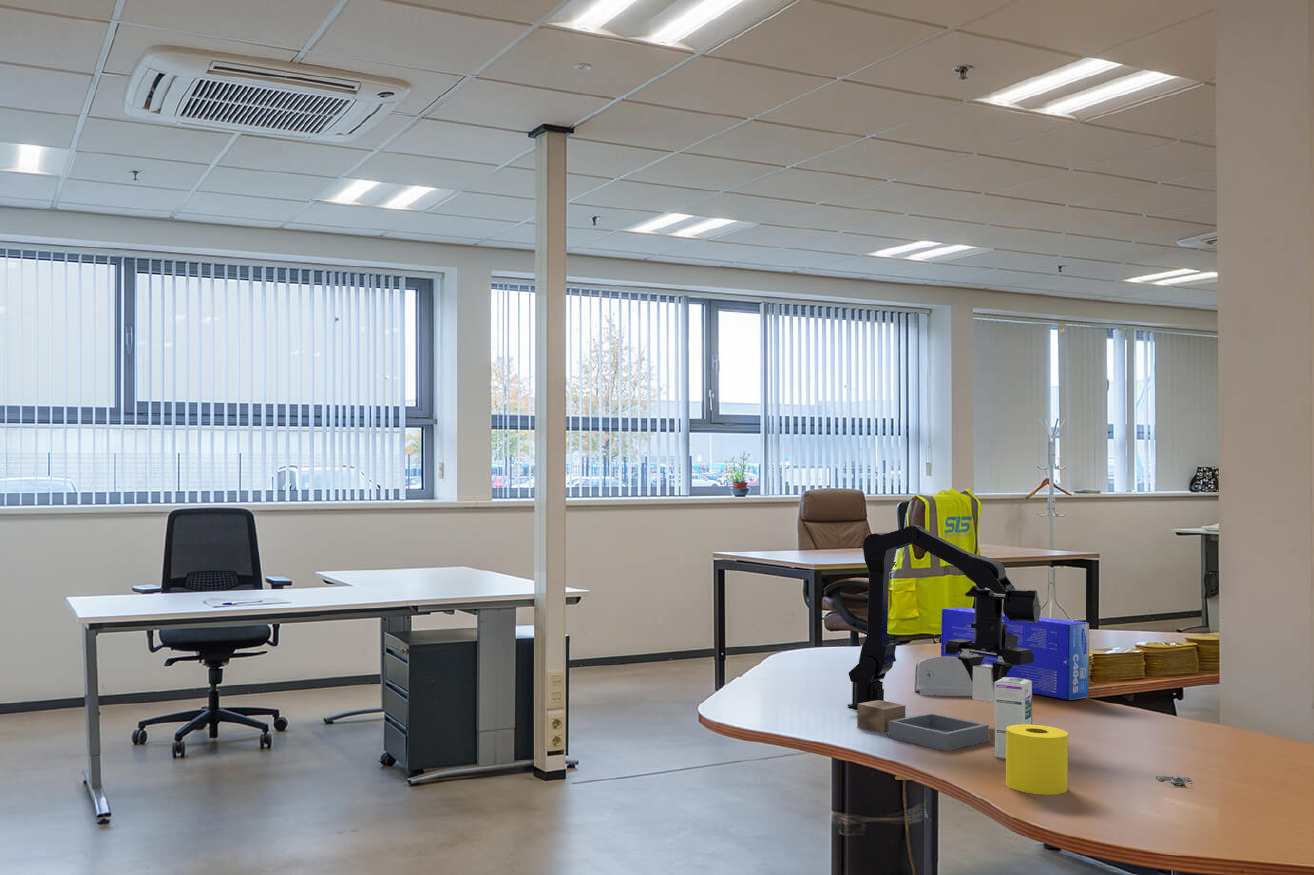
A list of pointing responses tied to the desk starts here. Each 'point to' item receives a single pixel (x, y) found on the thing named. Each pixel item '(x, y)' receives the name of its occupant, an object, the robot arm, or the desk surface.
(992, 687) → the small block
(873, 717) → the oversize block
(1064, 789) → the yellow paper roll
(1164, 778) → the grey flat piece
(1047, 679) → the toner cartridge box
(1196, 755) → the desk surface
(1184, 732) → the desk surface
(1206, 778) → the desk surface
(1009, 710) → the syrup box
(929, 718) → the sorting tray
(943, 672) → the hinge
